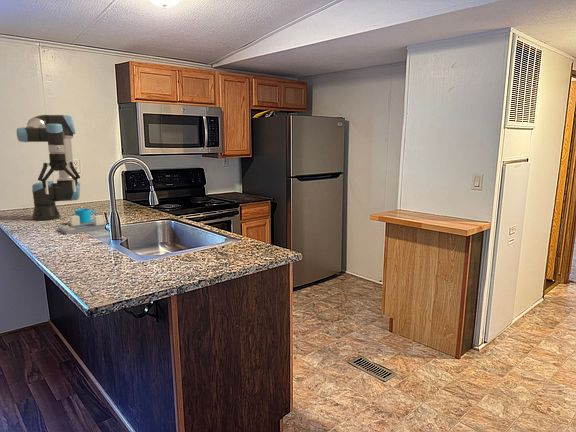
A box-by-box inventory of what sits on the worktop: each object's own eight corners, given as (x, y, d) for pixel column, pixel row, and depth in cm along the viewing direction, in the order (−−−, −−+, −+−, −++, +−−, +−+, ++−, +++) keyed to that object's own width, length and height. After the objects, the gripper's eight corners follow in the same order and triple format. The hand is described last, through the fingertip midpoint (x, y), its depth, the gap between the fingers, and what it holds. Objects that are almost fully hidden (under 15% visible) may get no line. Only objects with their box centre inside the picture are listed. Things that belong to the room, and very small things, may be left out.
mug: (78, 225, 239) (77, 211, 238) (74, 223, 245) (73, 209, 244) (99, 222, 247) (98, 209, 246) (95, 220, 253) (94, 207, 252)
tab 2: (94, 224, 229) (93, 215, 228) (101, 223, 232) (100, 215, 231) (96, 225, 226) (95, 216, 226) (103, 224, 229) (103, 216, 228)
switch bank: (58, 230, 225) (57, 226, 225) (106, 223, 243) (105, 219, 242) (66, 234, 215) (65, 230, 215) (115, 227, 233) (115, 223, 233)
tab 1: (70, 225, 228) (69, 216, 227) (77, 224, 231) (77, 215, 230) (72, 226, 225) (71, 217, 224) (80, 225, 228) (79, 216, 227)
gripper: (32, 154, 205) (37, 195, 209) (84, 152, 223) (87, 191, 227) (28, 153, 210) (32, 194, 214) (79, 152, 228) (82, 190, 232)
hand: (61, 192), depth 220 cm, fingers open, 13 cm apart
